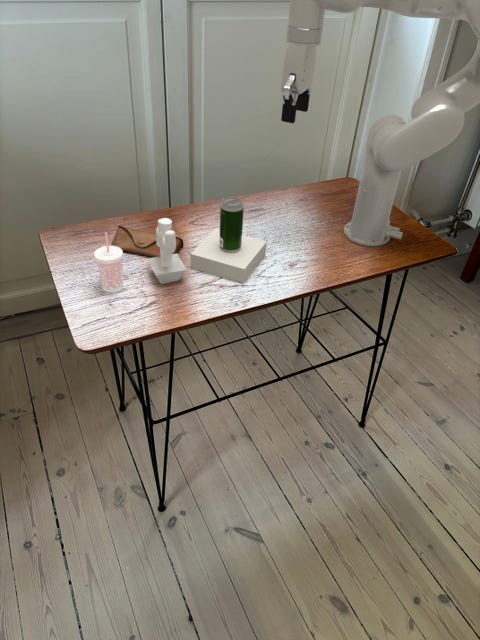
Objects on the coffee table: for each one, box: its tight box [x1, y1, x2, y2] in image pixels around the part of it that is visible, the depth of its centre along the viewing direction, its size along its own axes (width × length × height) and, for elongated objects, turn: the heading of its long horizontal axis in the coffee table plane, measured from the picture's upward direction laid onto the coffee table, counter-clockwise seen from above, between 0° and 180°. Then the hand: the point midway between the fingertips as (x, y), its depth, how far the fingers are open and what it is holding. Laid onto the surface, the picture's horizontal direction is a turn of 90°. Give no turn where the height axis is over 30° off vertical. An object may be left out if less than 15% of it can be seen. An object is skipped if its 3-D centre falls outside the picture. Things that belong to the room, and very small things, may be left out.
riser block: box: [189, 227, 267, 284], centre depth 126 cm, size 14×14×4 cm
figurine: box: [147, 217, 187, 285], centre depth 116 cm, size 7×9×15 cm
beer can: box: [219, 196, 245, 253], centre depth 121 cm, size 5×5×12 cm
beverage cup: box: [93, 231, 124, 294], centre depth 112 cm, size 6×6×14 cm
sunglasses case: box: [110, 225, 184, 259], centre depth 129 cm, size 18×7×7 cm, turn 76°
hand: (294, 116), depth 122 cm, fingers open, 9 cm apart
